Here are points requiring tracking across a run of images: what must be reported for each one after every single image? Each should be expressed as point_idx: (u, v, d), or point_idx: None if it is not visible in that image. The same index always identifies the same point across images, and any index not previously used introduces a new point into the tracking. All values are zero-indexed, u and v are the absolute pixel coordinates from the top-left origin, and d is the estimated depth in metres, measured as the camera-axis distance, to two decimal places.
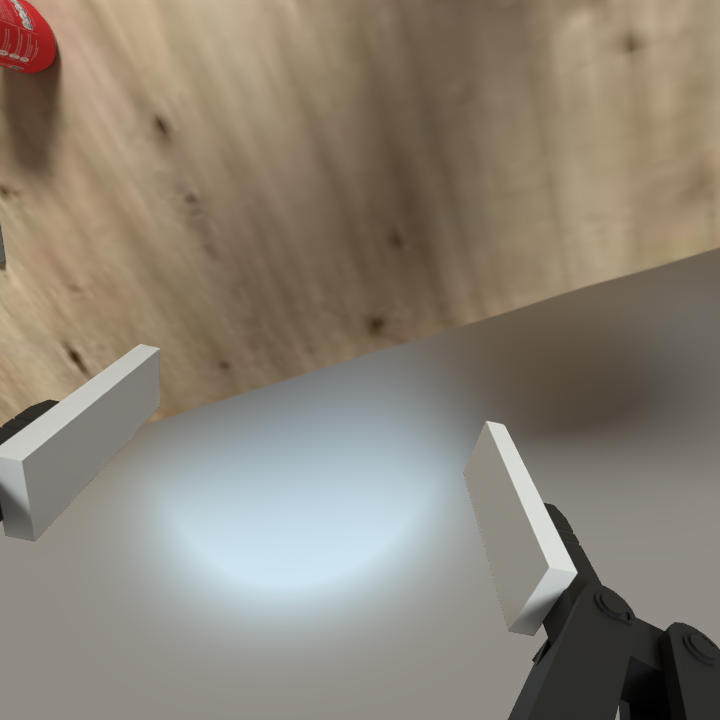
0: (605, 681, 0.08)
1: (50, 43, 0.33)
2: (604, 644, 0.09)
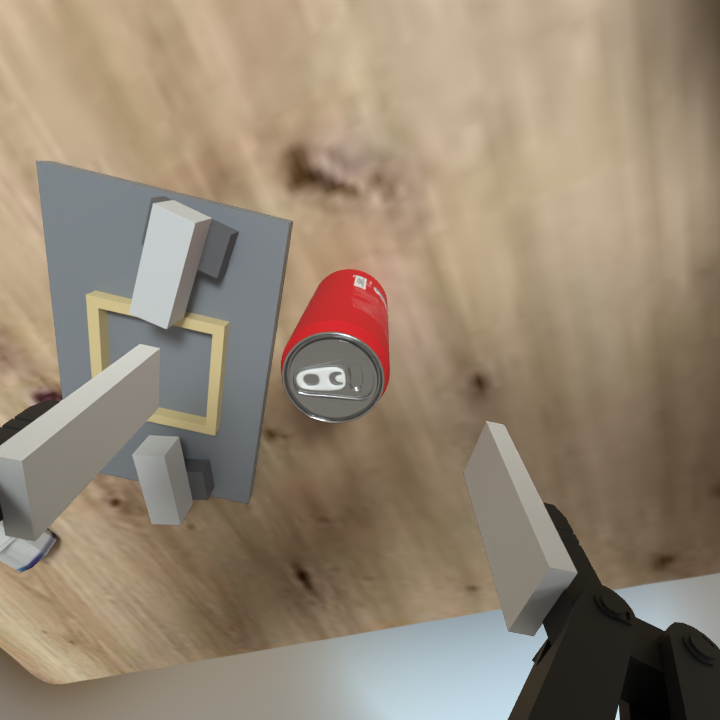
0: (605, 681, 0.08)
1: None
2: (603, 644, 0.09)
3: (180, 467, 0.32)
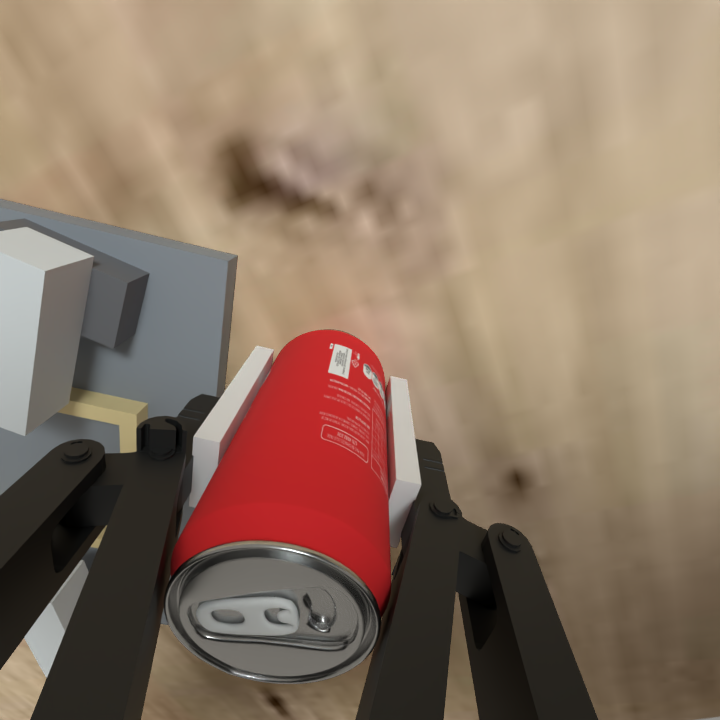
0: (444, 572, 0.09)
1: None
2: (439, 542, 0.10)
3: None
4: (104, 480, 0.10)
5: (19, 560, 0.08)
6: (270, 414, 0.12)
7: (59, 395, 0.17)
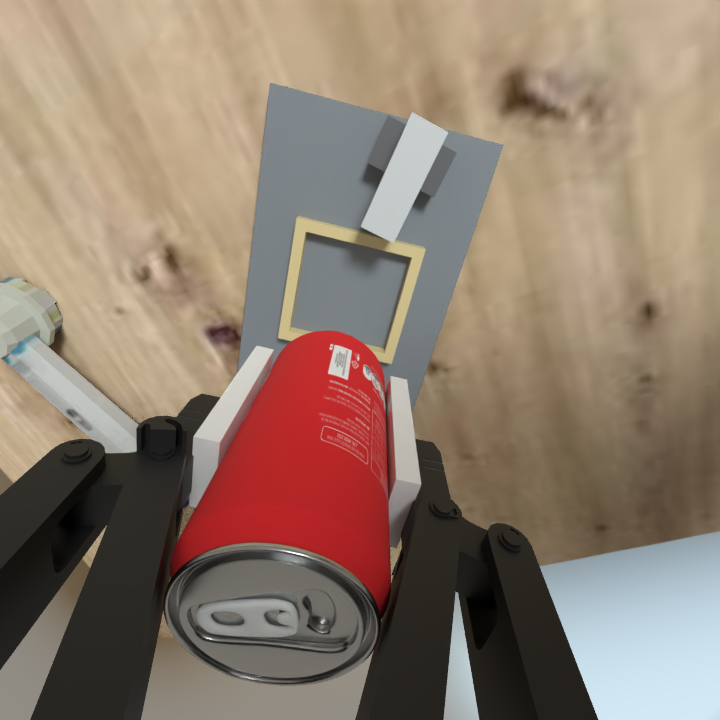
0: (444, 572, 0.09)
1: None
2: (440, 542, 0.10)
3: None
4: (104, 480, 0.10)
5: (19, 560, 0.08)
6: (270, 415, 0.12)
7: None
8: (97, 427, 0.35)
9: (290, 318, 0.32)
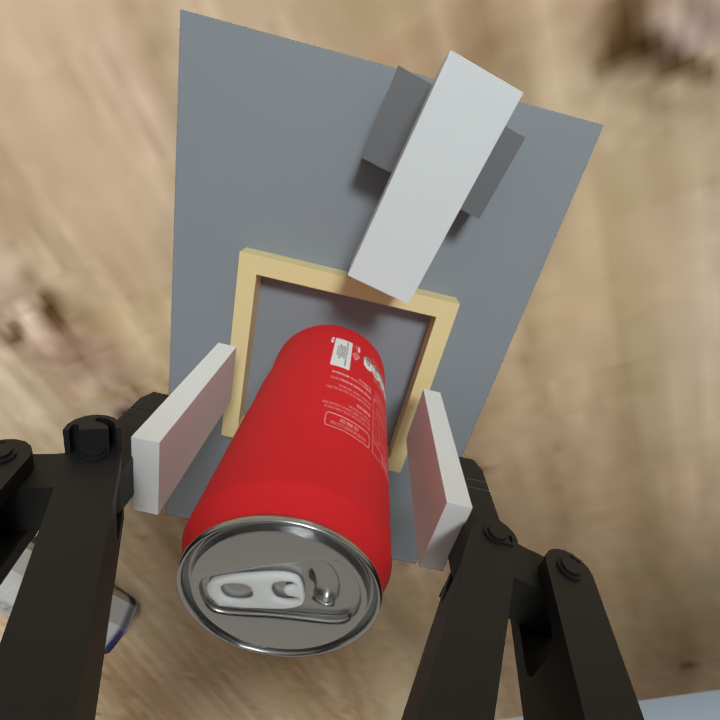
0: (496, 600, 0.09)
1: None
2: (493, 568, 0.10)
3: None
4: (30, 482, 0.10)
5: None
6: (275, 402, 0.12)
7: None
8: None
9: (239, 407, 0.20)
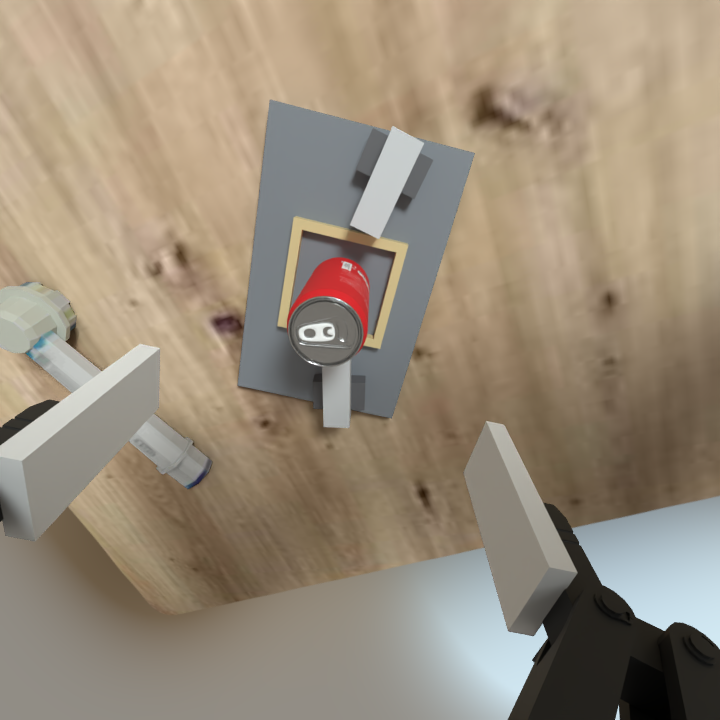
0: (605, 681, 0.08)
1: None
2: (603, 643, 0.09)
3: (350, 376, 0.37)
4: None
5: None
6: (318, 277, 0.28)
7: None
8: None
9: (288, 308, 0.36)
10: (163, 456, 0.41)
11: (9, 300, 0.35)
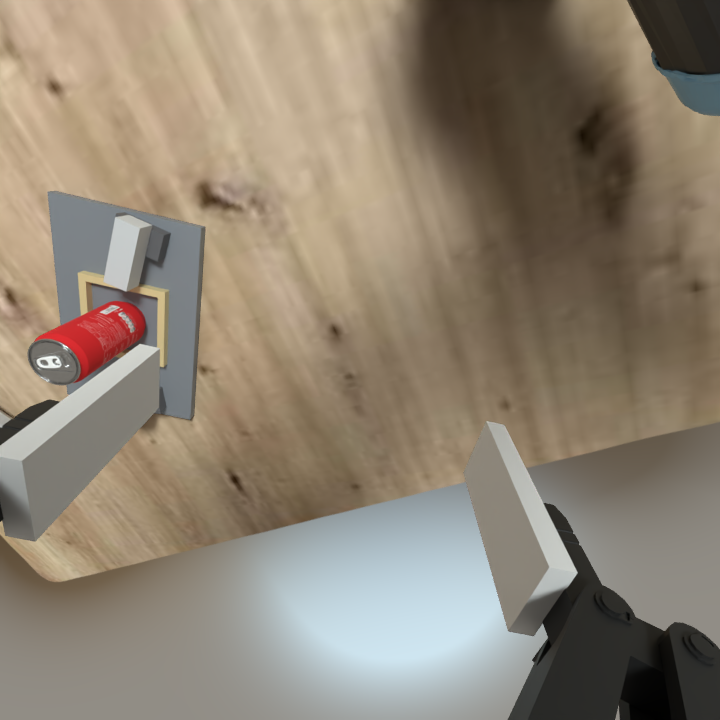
0: (605, 681, 0.08)
1: (143, 328, 0.47)
2: (603, 644, 0.09)
3: None
4: None
5: None
6: (69, 321, 0.40)
7: (136, 279, 0.43)
8: None
9: None
10: None
11: None
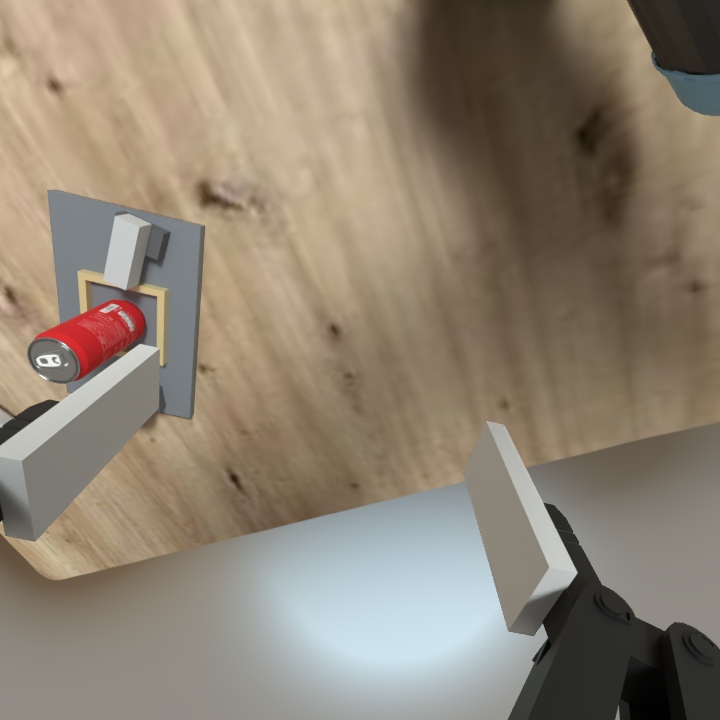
0: (605, 681, 0.08)
1: (143, 326, 0.47)
2: (603, 643, 0.09)
3: None
4: None
5: None
6: None
7: (136, 278, 0.43)
8: None
9: None
10: None
11: None
